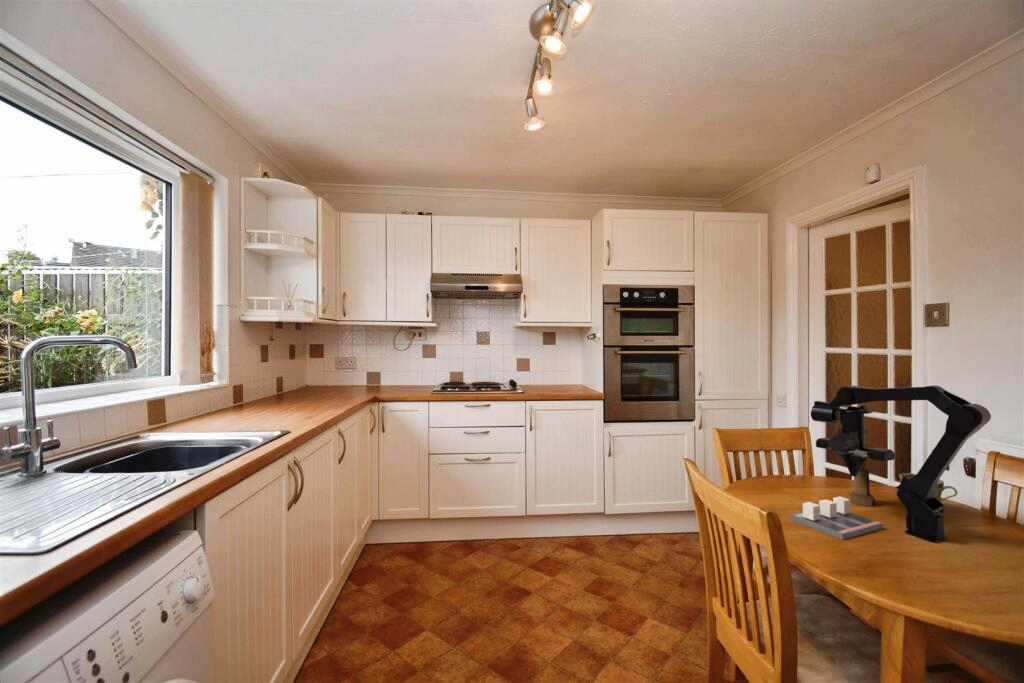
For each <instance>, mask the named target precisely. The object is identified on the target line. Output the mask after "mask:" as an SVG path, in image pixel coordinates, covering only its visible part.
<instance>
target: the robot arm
mask: <svg viewBox="0 0 1024 683" xmlns="http://www.w3.org/2000/svg"><path fill="white" fill-rule="evenodd" d="M889 401H890V402H893V401H894V402H895V401H898V402H899V401H900V402H901V401H928V402H929V403H931V404H932V405H934V406H935V408H937V410H939V411H940V412H942V413H944V414H945V415H947V416H948V417H947V420H946V423H945V431H944V433H943V434H942V437H941V438H940V439H939V441H938V442H937V444H936V445H935V447H934V448H933V450H931V453H930V454H929V455H928V457H927V458H926V460H925V461H924V463H923V464H922V466H921V467H920V469H919V470H918V472H917V473H908V474H909V475H907V476H904V477H903V478H902V481H901V482H900V484H898V486H896V487H895V489H897V491H896V496H897V499H898V500H899V501H900V502H901V504H903V505H904V507H905V510H906V514H905V528H906V529H905V530H904V533H905V534H908V535H912V536H915V537H918V538H919V539H920V538H921V539H923V540H926V541H929V542H932V543H939V542H941V541H944V540H948V538H949V537H948V536H947V535H945V524H944V522H945V521H944V518H945V517H944V516H943V515H940V514H943V513H944V512H945V510H946V508H947V507H946V505H944V504H943V503H942V501H941V502H940V501H939V500H938V499H937V498H935V497H934V496H935V493H936V490H937V483H938V480H939V479H940V478H941V477H942V476H943V474H944V473H945V472H946V470H947V468H948V467H949V466H950V465H951V463H952V461H954V459H955V457H957V455H958V453H959V451H960V450H961V448H962V447H963V446H964V444H965V443H966V442H967V440H968V439H970V438H971V437H972V436H973V435H974V434H977V432H979V431H980V430H981V429H982V428H983V427H985V425H987V424H988V423H989V422H990V421H991V419H992V414H991V413H990V411H989V410H988V408H986V407H984V406H982V405H981V404H978V403H971V402H970V401H969V400H966V399H965V398H963V397H960V396H958V395H956V394H954V393H951V392H950V391H948V390H946V389H945V388H943V387H941V386H939V385H929V386H928V385H927V386H912V387H911V386H910V387H909V386H907V387H883V388H879V387H878V388H877V387H871V386H862V385H850V386H844V387H840V388H839V389H838V390H837V392H836V396H835V397H834V398H833V399H832V401H831V402H827V401H823V400H815V401H814V403H813V405H812V408H811V410H810V418H811V420H812V421H813V422H819V423H827V424H837V422H840V427H839V428H837V431H836V432H837V433H836V435H833V436H832V437H820V438H817V439H816V440H815V447H816V448H820V449H824V450H826V449H828V448H829V450H830V451H831V452H834V453H835V454H836V455H838V456H840V458H842V460H843V461H844V463H845V466H846V467H847V470H848V473H849V474H850V476H851V477H853V478H854V477H855V476H856V475H857V473H858V472H859V470H860V468H861V466H862V465H863V463H864V462H865V463H866V460H867V459H870V460H875V461H878V462H888V461H893V460H896V454H895V452H894V451H893V450H892V449H889V448H886V447H885V448H884V447H878V446H877V447H876V446H875V447H871V448H870V447H868V443H867V442H865V441H866V440H865V439H866V436H865V434H868V430H867V429H865V415H868V414H872V413H874V411H873V410H872V409H870V407H868V405H866V404H867V403H871V402H889ZM865 403H866V404H865ZM859 404H860V405H861V404H863V405H861V406H854V405H859ZM846 406H847V408H844V407H846ZM842 407H843V408H842ZM858 449H859V450H858ZM914 474H916V475H914ZM940 480H941V479H940Z"/></svg>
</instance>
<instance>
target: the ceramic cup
mask: <svg viewBox="0 0 1024 683" xmlns="http://www.w3.org/2000/svg"><path fill="white" fill-rule="evenodd" d="M909 474H910V473H900V474H899V482H900V483H901V481H902V478H903V477H904V476H907V475H909ZM913 474H914V475H916V474H917V473H913ZM944 484H945V483H944V480H942V479H939V480H938V483H937V490H936V493H935V496H934V497H935V498H937V499H938V500H939V501H940V502H941V503H942V502H943V501H946V500H948V499H950V498H954V497H956V496H957V495H958V490H957V489H956V488H955V487H954V486H951V485H945V486H944ZM946 489H951V490H954V492H955V493H954V494H952V495H948V496H946V497H945V498H942V497H941V496H942V493H943V492H944V491H945V490H946Z"/></svg>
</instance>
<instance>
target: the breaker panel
mask: <svg viewBox="0 0 1024 683" xmlns="http://www.w3.org/2000/svg"><path fill="white" fill-rule="evenodd" d="M790 519H791V520H792V521H794V522H796V523H799V524H802V525H804V526H806V527H809V528H812V529H814V530H817V531H819V532H821V533H824V534H827V535H829V536H831V537H835V538H836V539H839V540H842V541H843V540H847V539H850V538H855V537H858V536H861V535H865V534H868V533H873V532H876V531H879V530H883V529H884V523H883V522H879V521H877V520H873V519H871V518H869V517H865V516H862V515H858V514H855V513H853V512H851V513H848V514H842V513H839V512H837V516H836V517H832V518H829V517H826V516H824V515H821V514H820V519H819V520H815V521H813V520H810V519H808V518H805V517H803V511H800V512H796V513H792V514H790Z"/></svg>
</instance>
